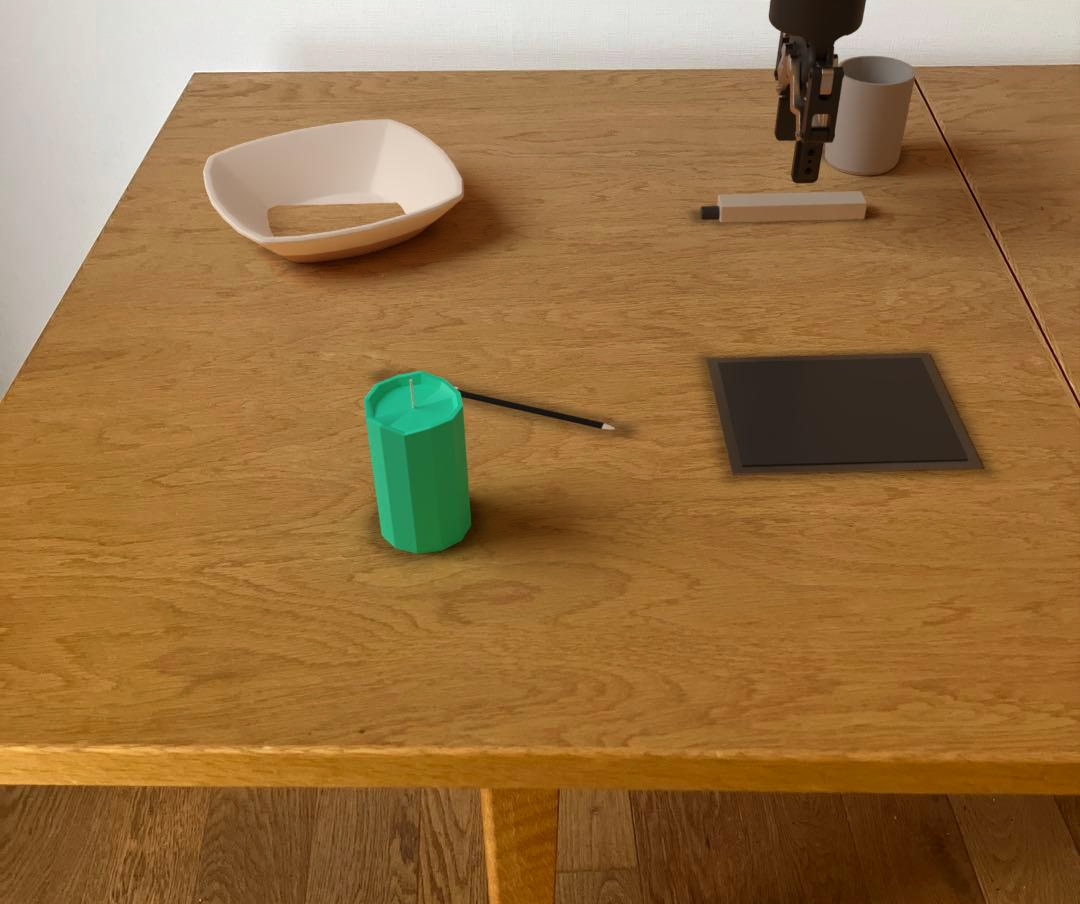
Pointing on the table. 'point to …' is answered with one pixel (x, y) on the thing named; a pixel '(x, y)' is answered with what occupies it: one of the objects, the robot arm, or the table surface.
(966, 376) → the table surface
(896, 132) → the cup
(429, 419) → the candle
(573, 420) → the black pencil
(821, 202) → the stylus
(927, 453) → the tablet
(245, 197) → the bowl
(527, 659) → the table surface
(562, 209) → the table surface
